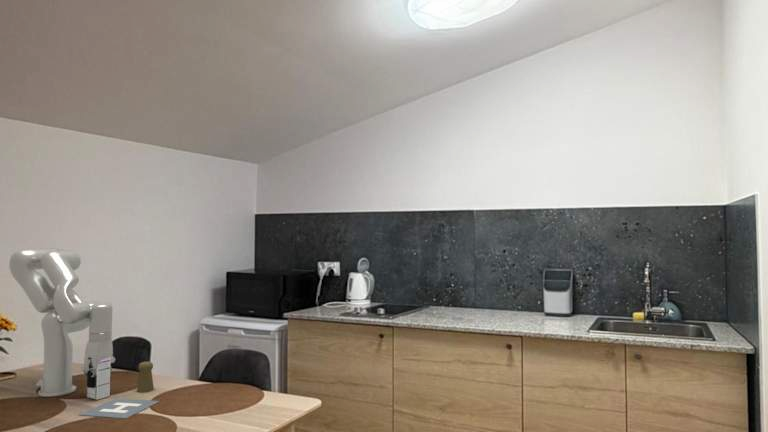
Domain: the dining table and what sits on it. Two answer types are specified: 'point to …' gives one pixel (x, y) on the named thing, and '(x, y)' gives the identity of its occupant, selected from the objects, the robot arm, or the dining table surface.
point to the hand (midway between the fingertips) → (98, 384)
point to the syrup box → (101, 381)
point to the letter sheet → (119, 408)
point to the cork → (145, 377)
